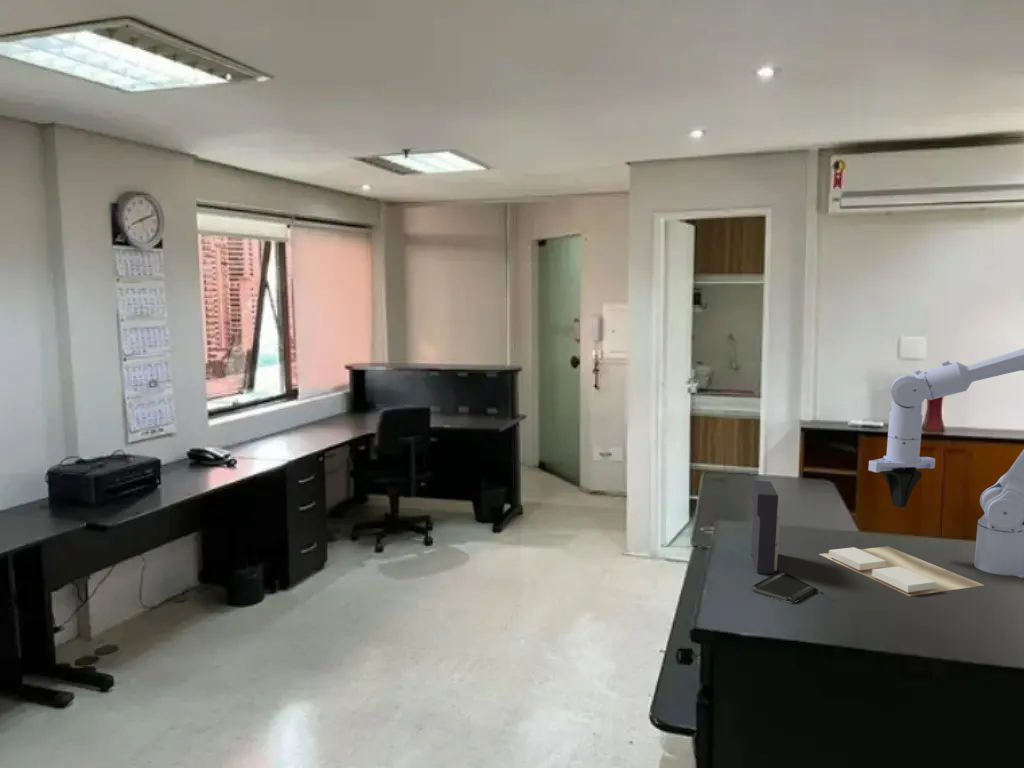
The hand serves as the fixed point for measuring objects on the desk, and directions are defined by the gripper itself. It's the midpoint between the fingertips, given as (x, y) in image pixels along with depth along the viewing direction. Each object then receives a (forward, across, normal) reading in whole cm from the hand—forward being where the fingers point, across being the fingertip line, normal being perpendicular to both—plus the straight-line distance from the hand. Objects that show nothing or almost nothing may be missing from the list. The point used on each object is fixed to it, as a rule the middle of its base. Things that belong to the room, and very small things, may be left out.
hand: (899, 506), depth 151 cm
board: (+10, +6, +7) cm, 14 cm away
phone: (+11, +30, +7) cm, 33 cm away
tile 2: (+9, +9, +13) cm, 18 cm away
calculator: (+11, +28, -4) cm, 30 cm away
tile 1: (+9, +9, +2) cm, 13 cm away
